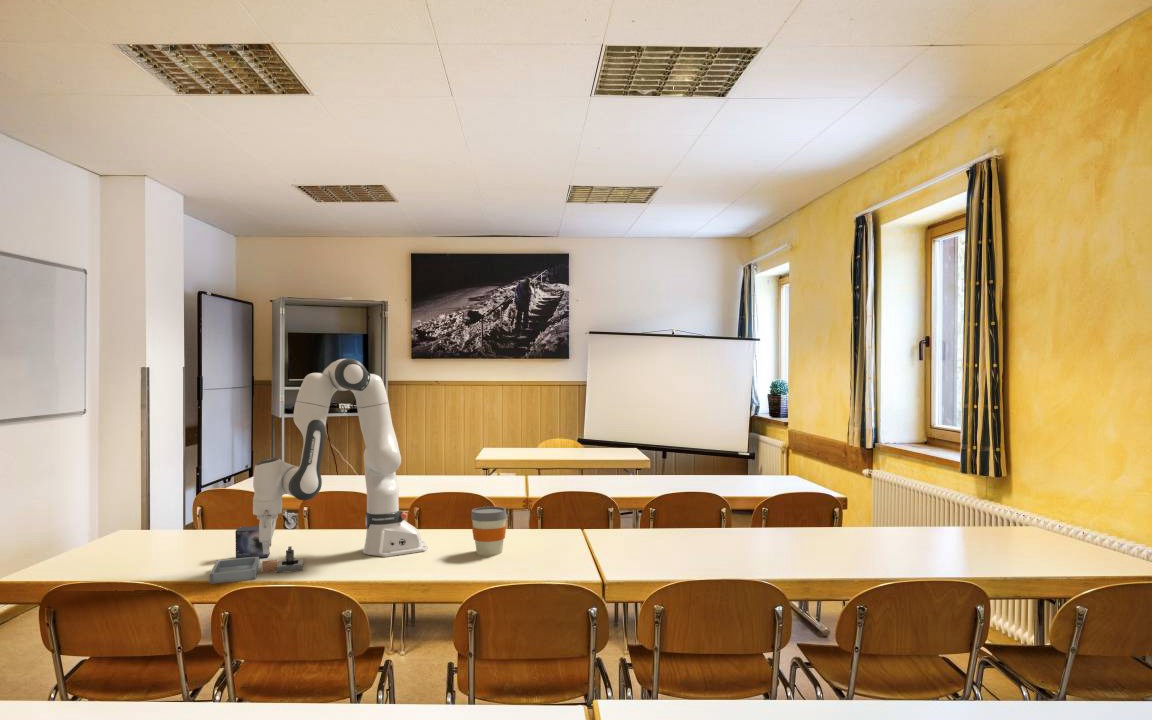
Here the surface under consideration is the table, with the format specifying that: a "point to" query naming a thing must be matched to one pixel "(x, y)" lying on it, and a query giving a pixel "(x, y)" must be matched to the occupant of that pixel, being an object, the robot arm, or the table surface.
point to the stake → (289, 556)
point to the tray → (234, 570)
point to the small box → (249, 543)
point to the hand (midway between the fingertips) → (267, 550)
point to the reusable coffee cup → (489, 529)
